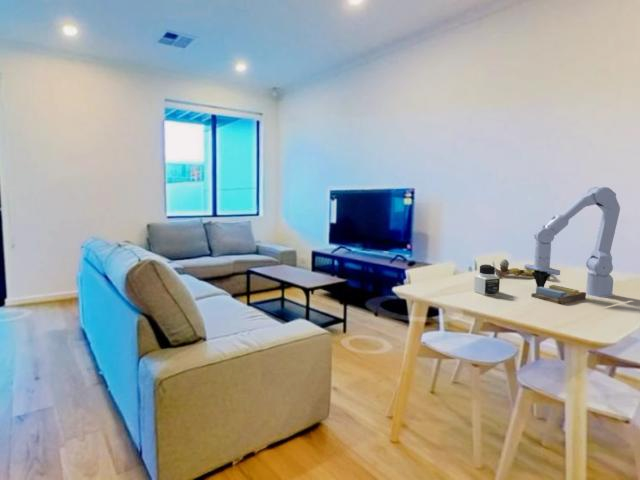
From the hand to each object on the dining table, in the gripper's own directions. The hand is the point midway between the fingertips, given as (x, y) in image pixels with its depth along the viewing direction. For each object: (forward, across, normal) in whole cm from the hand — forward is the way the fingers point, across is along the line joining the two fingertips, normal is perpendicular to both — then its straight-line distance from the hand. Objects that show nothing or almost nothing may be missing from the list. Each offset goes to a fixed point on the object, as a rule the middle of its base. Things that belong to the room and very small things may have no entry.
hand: (540, 288), depth 166 cm
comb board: (+2, +10, -4) cm, 11 cm away
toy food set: (+2, -25, +21) cm, 33 cm away
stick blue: (+1, +9, -7) cm, 12 cm away
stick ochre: (+1, +10, 0) cm, 10 cm away
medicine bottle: (+2, -10, -21) cm, 23 cm away
